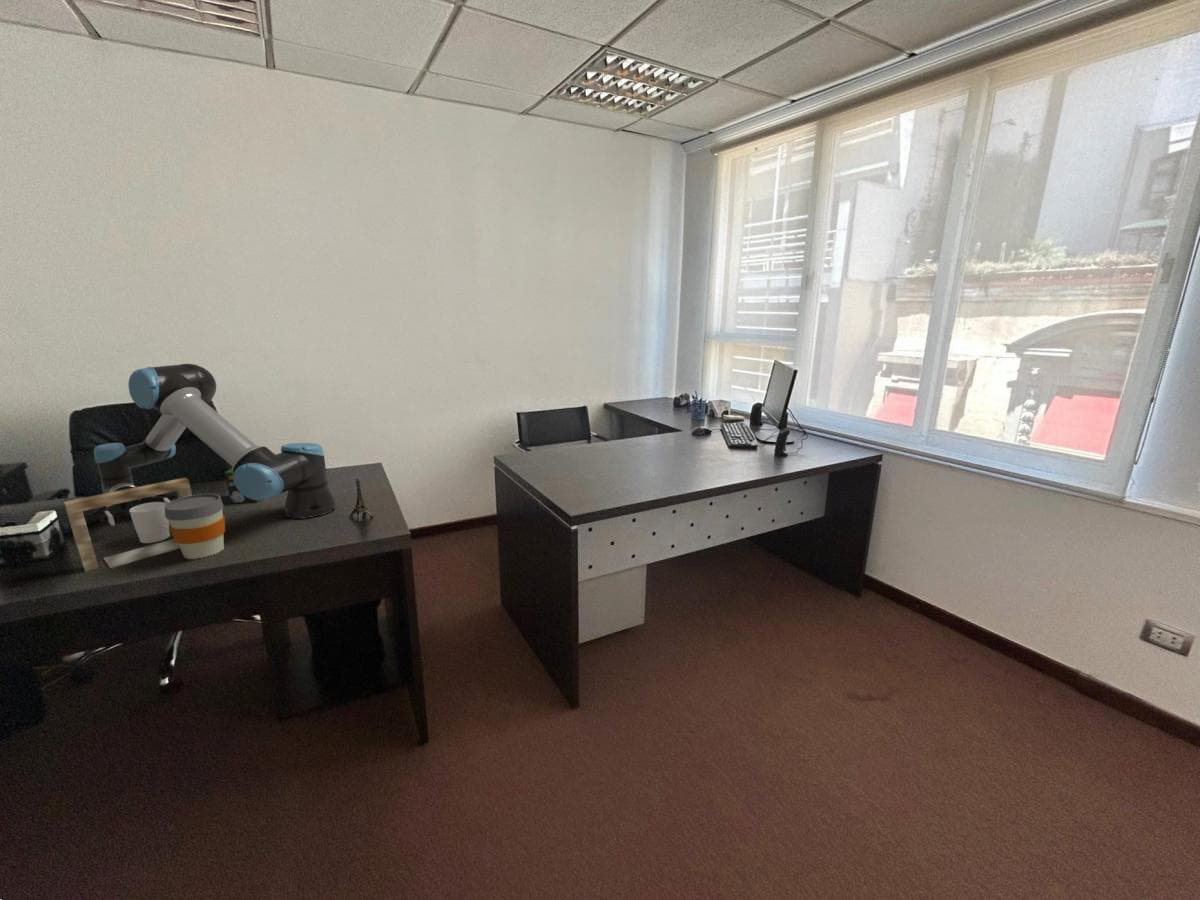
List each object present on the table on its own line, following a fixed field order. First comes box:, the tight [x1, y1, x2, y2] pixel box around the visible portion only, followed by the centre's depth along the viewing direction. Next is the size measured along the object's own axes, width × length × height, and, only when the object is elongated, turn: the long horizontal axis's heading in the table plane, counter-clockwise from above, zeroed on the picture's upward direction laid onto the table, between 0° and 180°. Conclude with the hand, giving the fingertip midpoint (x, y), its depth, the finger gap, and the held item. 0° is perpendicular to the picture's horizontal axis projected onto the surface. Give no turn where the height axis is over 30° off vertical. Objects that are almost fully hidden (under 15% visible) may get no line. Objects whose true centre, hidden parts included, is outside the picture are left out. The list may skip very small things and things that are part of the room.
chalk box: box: [224, 468, 261, 504], centre depth 176 cm, size 9×9×15 cm
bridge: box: [63, 477, 193, 572], centre depth 136 cm, size 24×8×18 cm, turn 142°
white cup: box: [128, 502, 171, 544], centre depth 146 cm, size 8×8×10 cm
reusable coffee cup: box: [165, 493, 226, 560], centre depth 138 cm, size 13×13×15 cm
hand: (143, 513), depth 150 cm, fingers open, 13 cm apart
